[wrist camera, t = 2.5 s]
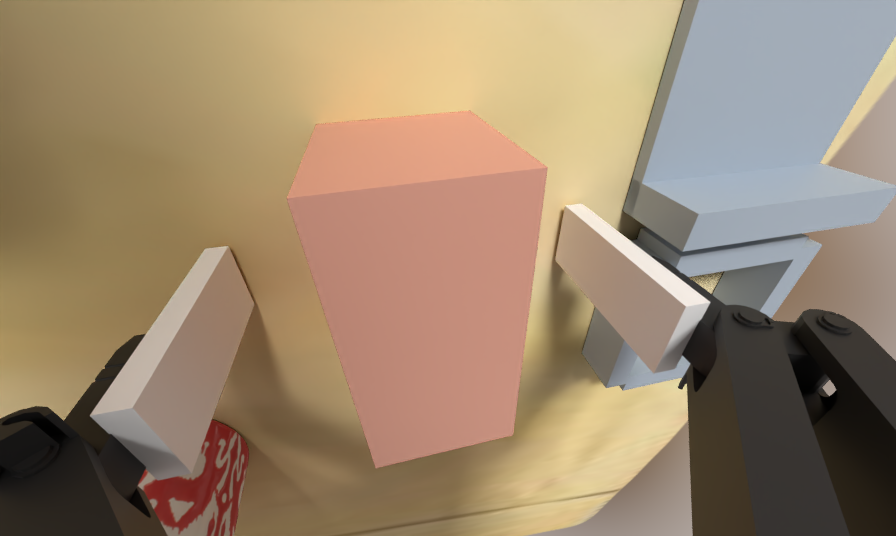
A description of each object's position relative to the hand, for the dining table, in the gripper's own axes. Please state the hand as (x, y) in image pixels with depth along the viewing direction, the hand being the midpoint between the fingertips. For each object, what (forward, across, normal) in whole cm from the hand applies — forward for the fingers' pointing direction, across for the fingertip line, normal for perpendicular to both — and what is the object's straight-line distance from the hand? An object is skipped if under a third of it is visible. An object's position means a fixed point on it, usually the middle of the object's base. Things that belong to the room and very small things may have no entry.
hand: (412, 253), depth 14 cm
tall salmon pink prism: (0, 0, 0) cm, 0 cm away
